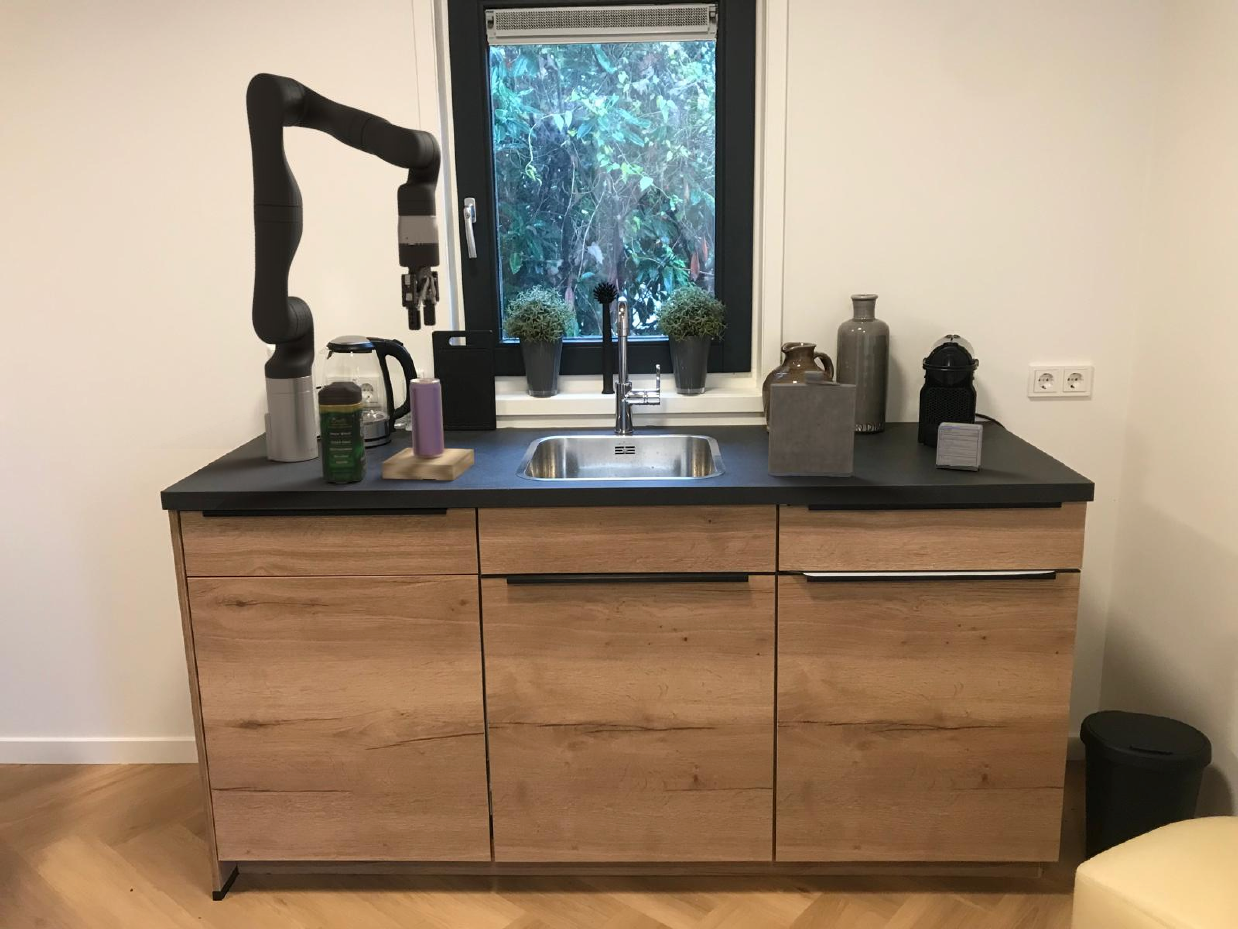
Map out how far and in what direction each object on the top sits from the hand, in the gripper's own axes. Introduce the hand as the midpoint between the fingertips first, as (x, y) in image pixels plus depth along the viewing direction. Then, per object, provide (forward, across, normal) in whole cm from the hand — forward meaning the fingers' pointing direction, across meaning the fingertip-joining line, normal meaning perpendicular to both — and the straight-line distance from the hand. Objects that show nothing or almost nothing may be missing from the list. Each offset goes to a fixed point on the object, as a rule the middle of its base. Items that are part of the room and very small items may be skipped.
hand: (422, 327), depth 194 cm
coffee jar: (+28, +8, -14) cm, 33 cm away
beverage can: (+25, 0, 0) cm, 25 cm away
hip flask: (+28, -6, +74) cm, 80 cm away
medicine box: (+28, -15, +103) cm, 108 cm away
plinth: (+28, 0, 0) cm, 28 cm away
